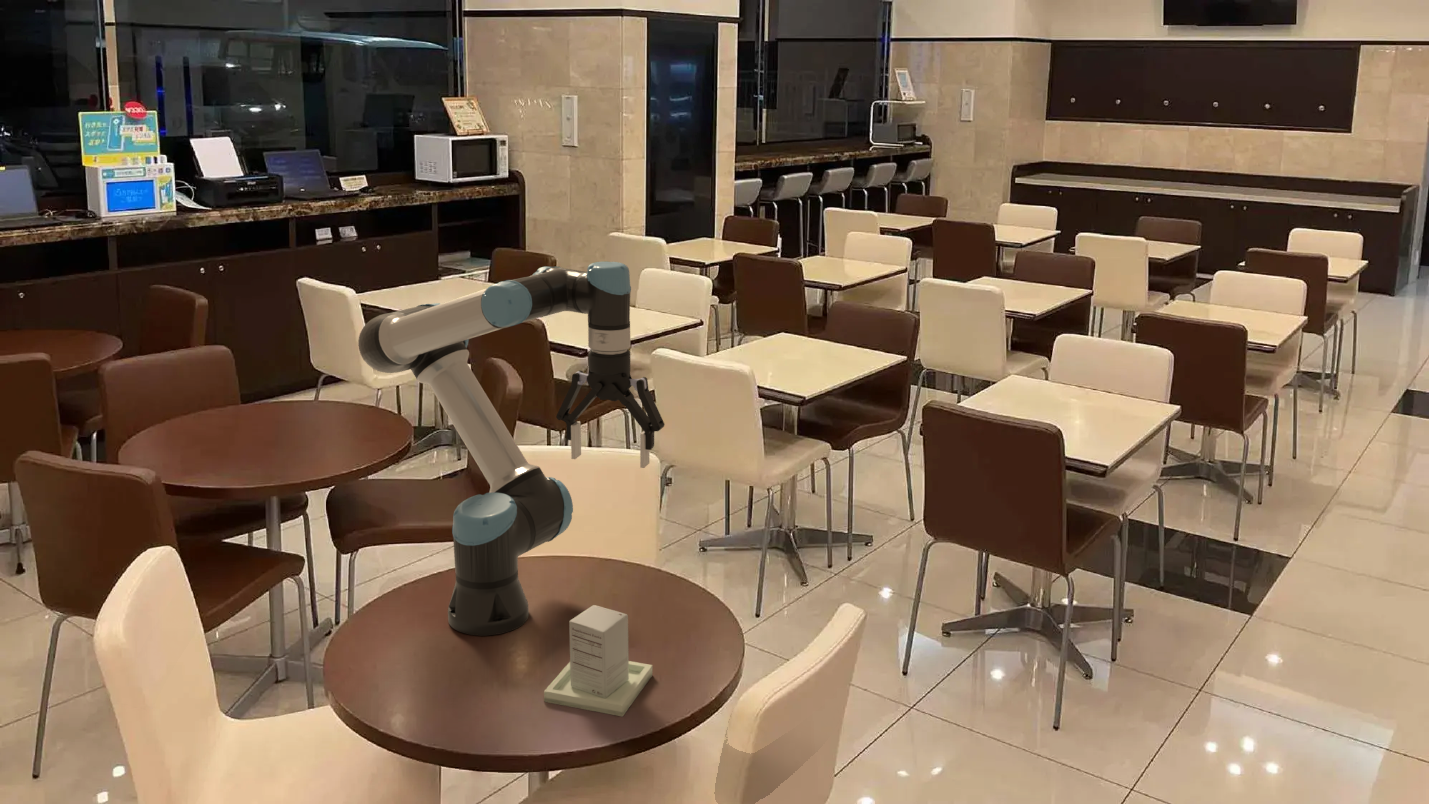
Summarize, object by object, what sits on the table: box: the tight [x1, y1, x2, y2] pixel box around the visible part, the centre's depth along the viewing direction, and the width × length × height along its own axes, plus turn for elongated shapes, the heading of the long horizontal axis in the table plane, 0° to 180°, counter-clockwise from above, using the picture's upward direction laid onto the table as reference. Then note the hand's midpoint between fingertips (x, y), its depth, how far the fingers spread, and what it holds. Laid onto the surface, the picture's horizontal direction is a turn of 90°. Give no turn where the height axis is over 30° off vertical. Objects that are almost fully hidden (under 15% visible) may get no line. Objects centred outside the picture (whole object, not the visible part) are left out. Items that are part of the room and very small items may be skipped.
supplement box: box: [568, 604, 629, 698], centre depth 199 cm, size 7×7×13 cm
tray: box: [543, 660, 653, 717], centre depth 201 cm, size 14×14×2 cm
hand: (610, 461), depth 217 cm, fingers open, 13 cm apart
